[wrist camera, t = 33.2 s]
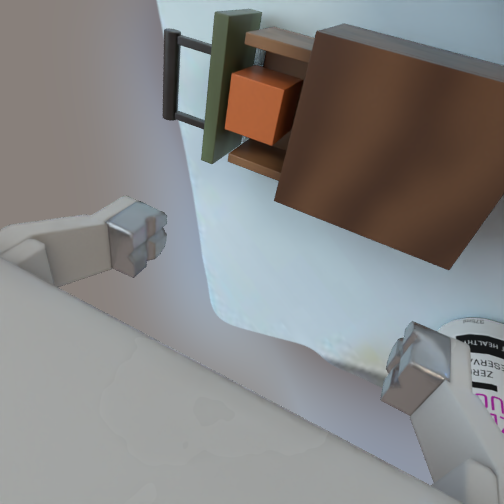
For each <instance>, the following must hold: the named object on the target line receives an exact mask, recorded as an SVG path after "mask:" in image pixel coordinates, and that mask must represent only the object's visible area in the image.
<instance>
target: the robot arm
mask: <svg viewBox="0 0 504 504" xmlns="http://www.w3.org/2000/svg"><path fill="white" fill-rule="evenodd" d="M166 224H167V215H166V214H165V213H164V212H162V211H159V210H157V209H155V208H153V207H151V206H149V205H147V204H145V203H143V202H141V201H137V200H136V199H133V198H131V197H129V196H123V197H121V198H120V199H118V200H116V201H115V202H113V203H111V204H110V205H108V206H106V207H105V208H103V209H101V210H100V211H98V212H96V213H95V214H93V215H91V216H89V215H87V214H86V215H78V216H71V217H63V218H56V219H49V220H42V221H35V222H27V223H19V224H12V225H8V226H6V227H4V228H2V229H0V504H504V434H503V433H502V431H501V430H500V428H499V427H498V425H497V424H496V422H495V421H494V419H493V418H492V416H491V415H490V413H489V412H488V410H487V408H486V407H485V405H484V404H483V402H482V401H481V399H480V398H479V396H477V395H475V394H473V393H472V374H471V355H470V347H469V345H468V344H467V343H464V342H462V341H459V340H457V339H455V338H452V337H450V336H449V337H448V336H446V335H444V334H442V333H439V332H437V331H435V330H432V329H430V328H428V327H425V326H423V325H421V324H418V323H416V322H414V321H412V322H411V323H410V324H409V325H408V326H407V327H406V329H405V333H404V338H400V339H398V340H397V342H396V343H395V345H394V346H393V348H392V351H391V353H390V355H389V358H388V361H387V366H386V369H387V372H388V376H387V377H386V379H385V380H384V382H383V388H382V394H381V399H380V400H381V401H383V402H385V403H387V404H388V405H390V406H392V407H394V408H396V409H398V410H400V411H402V412H404V413H406V414H408V415H410V420H411V422H412V425H413V428H414V430H415V433H416V436H417V438H418V441H419V444H420V447H421V449H422V452H423V455H424V457H425V460H426V463H427V466H428V468H429V471H430V474H431V476H432V479H433V482H434V484H432V485H431V486H430V485H429V484H427V483H425V482H423V481H421V480H419V479H417V478H415V477H414V476H412V475H410V474H408V473H406V472H404V471H402V470H400V469H398V468H397V467H395V466H393V465H391V464H389V463H387V462H385V461H383V460H381V459H379V458H378V457H376V456H374V455H372V454H370V453H368V452H367V451H365V450H363V449H361V448H359V447H357V446H355V445H353V444H351V443H350V442H348V441H346V440H344V439H342V438H340V437H338V436H336V435H335V434H333V433H331V432H329V431H327V430H325V429H323V428H321V427H319V426H318V425H316V424H314V423H312V422H310V421H308V420H306V419H304V418H303V417H301V416H299V415H297V414H295V413H293V412H291V411H289V410H287V409H286V408H284V407H282V406H280V405H278V404H276V403H274V402H272V401H271V400H269V399H267V398H265V397H263V396H261V395H259V394H257V393H256V392H254V391H252V390H250V389H248V388H246V387H244V386H242V385H240V384H238V383H237V382H235V381H233V380H231V379H229V378H227V377H225V376H223V375H222V374H220V373H218V372H216V371H214V370H212V369H210V368H208V367H207V366H205V365H203V364H201V363H199V362H197V361H195V360H193V359H191V358H190V357H188V356H186V355H184V354H182V353H180V352H178V351H177V350H174V349H173V348H171V347H169V346H167V345H165V344H163V343H161V342H160V341H158V340H156V339H154V338H152V337H150V336H148V335H146V334H145V333H143V332H141V331H139V330H137V329H135V328H133V327H131V326H129V325H128V324H126V323H124V322H122V321H120V320H118V319H116V318H114V317H113V316H111V315H109V314H107V313H105V312H103V311H101V310H99V309H98V308H96V307H94V306H92V305H90V304H88V303H86V302H84V301H82V300H80V299H79V298H77V297H75V296H73V295H71V294H69V293H67V292H65V291H64V290H62V289H60V288H58V287H60V286H63V285H66V284H69V283H72V282H75V281H78V280H81V279H84V278H87V277H90V276H93V275H96V274H99V273H102V272H105V271H108V270H111V269H112V268H113V269H115V270H117V271H119V272H121V273H124V274H126V275H128V276H130V277H133V278H134V277H135V276H136V275H137V274H138V273H140V272H141V271H142V270H143V269H144V268H145V267H146V265H147V261H148V260H153V259H155V258H157V257H158V256H159V255H160V254H161V252H162V250H163V249H164V247H165V244H166V238H167V234H166V233H165V230H164V228H163V227H164V226H165V225H166Z"/></svg>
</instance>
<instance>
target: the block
mask: <svg viewBox="0 0 504 504" xmlns="http://www.w3.org/2000/svg"><path fill="white" fill-rule="evenodd" d="M302 81H303V80H302V79H300V78H297V77H293V76H290V75H287V74H284V73H280V72H277V71H274V70H271V69H267V68H264V67H261V66H258V65H254V66H251V67H248V68H245V69H243V70H240V71H237V72H234V73H232V75H231V83H230V91H229V99H228V107H227V115H226V122H225V129H226V130H229V131H232V132H234V133H237V134H240V135H243V136H246V137H248V138H251V139H254V140H257V141H259V142H262V143H265V144H268V145H271V146H273V145H274V144H275V143H276V142H277V141H278V140H280V139H281V138H282V137H283V136H284V135H286V134H287V133H288V132H289V131H290V130H291V126H292V122H293V117H294V113H295V109H296V105H297V101H298V97H299V93H300V89H301V85H302Z"/></svg>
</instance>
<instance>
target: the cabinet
mask: <svg viewBox="0 0 504 504" xmlns="http://www.w3.org/2000/svg"><path fill="white" fill-rule="evenodd" d="M503 194H504V66H503V65H499V64H495V63H491V62H488V61H484V60H480V59H476V58H473V57H469V56H465V55H461V54H457V53H454V52H450V51H446V50H442V49H439V48H435V47H431V46H427V45H424V44H420V43H416V42H412V41H409V40H405V39H401V38H397V37H393V36H390V35H386V34H382V33H378V32H375V31H371V30H367V29H363V28H360V27H356V26H352V25H348V24H341V25H338V26H334V27H330V28H327V29H323V30H319V31H317V32H316V35H315V39H314V43H313V47H312V51H311V55H310V59H309V63H308V67H307V71H306V75H305V79H304V83H303V87H302V91H301V95H300V99H299V103H298V107H297V111H296V115H295V119H294V123H293V127H292V131H291V135H290V139H289V143H288V147H287V151H286V155H285V159H284V163H283V167H282V171H281V175H280V179H279V183H278V187H277V191H276V195H275V199H274V201H276V202H278V203H281V204H283V205H286V206H288V207H291V208H293V209H296V210H298V211H301V212H303V213H306V214H308V215H311V216H313V217H316V218H318V219H321V220H323V221H326V222H328V223H331V224H333V225H336V226H339V227H341V228H344V229H346V230H349V231H351V232H354V233H356V234H359V235H361V236H364V237H366V238H369V239H371V240H374V241H376V242H379V243H381V244H384V245H386V246H389V247H391V248H394V249H396V250H399V251H402V252H404V253H407V254H409V255H412V256H414V257H417V258H419V259H422V260H424V261H427V262H429V263H432V264H434V265H437V266H439V267H442V268H444V269H447V270H450V269H451V267H452V266H453V264H454V263H455V262H456V260H457V259H458V257H459V256H460V255H461V253H462V252H463V250H464V249H465V248H466V246H467V245H468V243H469V242H470V241H471V239H472V238H473V236H474V235H475V234H476V232H477V231H478V229H479V228H480V227H481V225H482V224H483V222H484V221H485V220H486V218H487V217H488V215H489V214H490V213H491V211H492V210H493V208H494V207H495V206H496V204H497V203H498V201H499V200H500V199H501V197H502V196H503Z"/></svg>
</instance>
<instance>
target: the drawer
mask: <svg viewBox="0 0 504 504" xmlns="http://www.w3.org/2000/svg"><path fill="white" fill-rule="evenodd" d="M261 16H262V12H259V11H256V10H252V9H242V10H229V11H217V12H215V16H214V26H213V37H212V44H209V43H205V42H202V41H199V40H196V39H192V38H189V37H186V36H182V35H181V32H180V31H178V30H175V29H165V30H164V72H163V75H164V77H163V118H164V119H166V120H176V119H177V120H180V121H182V122H185V123H188V124H191V125H193V126H196V127H199V128H201V129H204V135H203V146H202V156H201V160H203V161H205V162H208V163H210V164H213V163H215V162H216V161H218V160H219V159H221V158H222V157H223V156H225V155H226V154H228V153H229V152H230V151H232V150H233V149H234V150H233V151H232V152H230V153H229V156H228V162H230V163H233V164H236V165H238V166H241V167H244V168H246V169H249V170H251V171H254V172H257V173H259V174H262V175H264V176H267V177H270V178H272V179H275V180H278V181H279V179H280V175H281V171H282V167H283V163H284V159H285V155H286V151H287V147H288V143H289V139H290V135H291V131H292V127H293V123H294V119H295V115H296V111H297V107H298V103H299V99H300V95H301V91H302V87H303V83H304V79H305V75H306V71H307V67H308V63H309V59H310V55H311V51H312V47H313V43H314V39H315V38H313V37H309V36H306V35H302V34H298V33H295V32H291V31H288V30H284V29H281V28H277V27H270V28H265V29H260V30H259V28H260V22H261ZM181 45H182V46H185V47H188V48H191V49H194V50H198V51H201V52H204V53H207V54H210V55H211V59H210V70H209V81H208V91H207V102H206V113H205V120H202V119H199V118H196V117H194V116H191V115H188V114H185V113H183V112H180V111H178V92H179V69H180V46H181ZM256 48H259V49H262V50H265V51H266V55H265V60H264V66H263V67H264V68H267V69H271V70H274V71H277V72H280V73H284V74H287V75H290V76H293V77H297V78H300V79H302V80H303V81H302V85H301V89H300V93H299V97H298V101H297V105H296V109H295V113H294V117H293V122H292V126H291V130H290V131H289V132H288V133H287V134H286V135H284V136H283V137H282V138H281V139H280V140H278V141H277V142H276V143H275V144H274V145H273V146H271V145H268V144H265V143H262V142H259V141H257V140H254V139H251V138H250V139H248V140H247V141H246V142H244V143H243V144H241V139H242V135H240V134H237V133H234V132H232V131H229V130H226V129H225V122H226V115H227V107H228V99H229V91H230V83H231V75H232V73H234V72H237V71H240V70H243V69H245V68H248V67H251V66H253V65H254V59H255V53H256ZM240 144H241V145H240ZM239 145H240V146H239ZM238 146H239V147H238ZM236 147H237V148H236ZM235 148H236V149H235Z"/></svg>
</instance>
